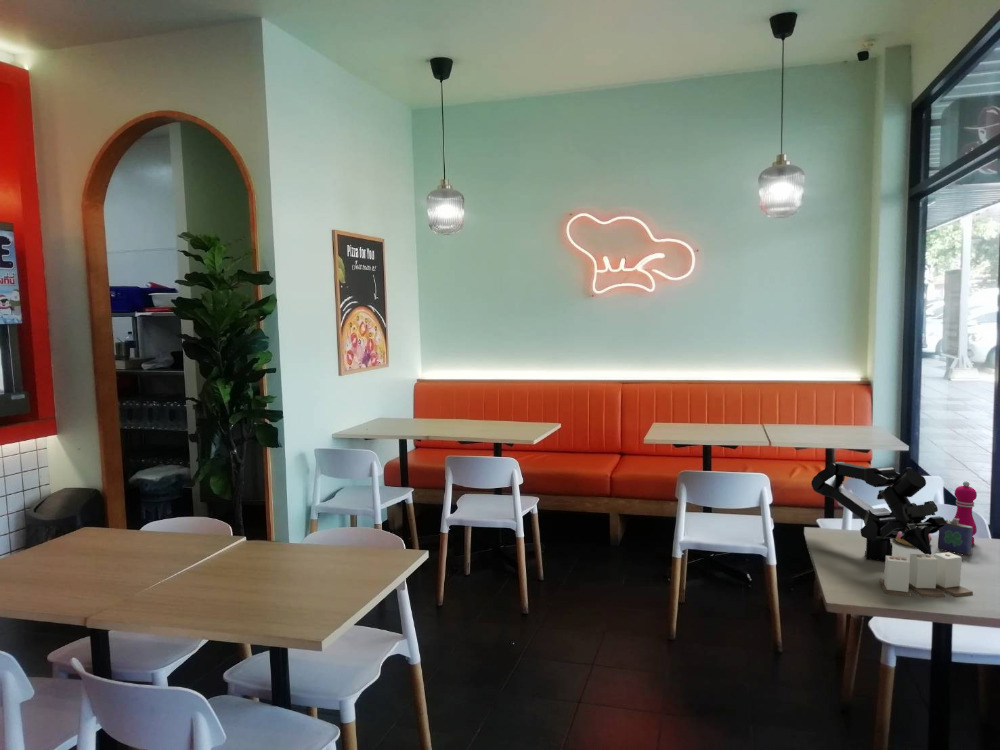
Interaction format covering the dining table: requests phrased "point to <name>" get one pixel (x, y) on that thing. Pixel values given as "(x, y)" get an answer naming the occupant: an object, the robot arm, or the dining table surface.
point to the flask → (955, 537)
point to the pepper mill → (965, 506)
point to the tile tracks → (930, 591)
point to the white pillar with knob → (948, 569)
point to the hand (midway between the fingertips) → (929, 554)
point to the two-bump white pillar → (923, 571)
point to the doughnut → (904, 540)
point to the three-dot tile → (897, 573)
